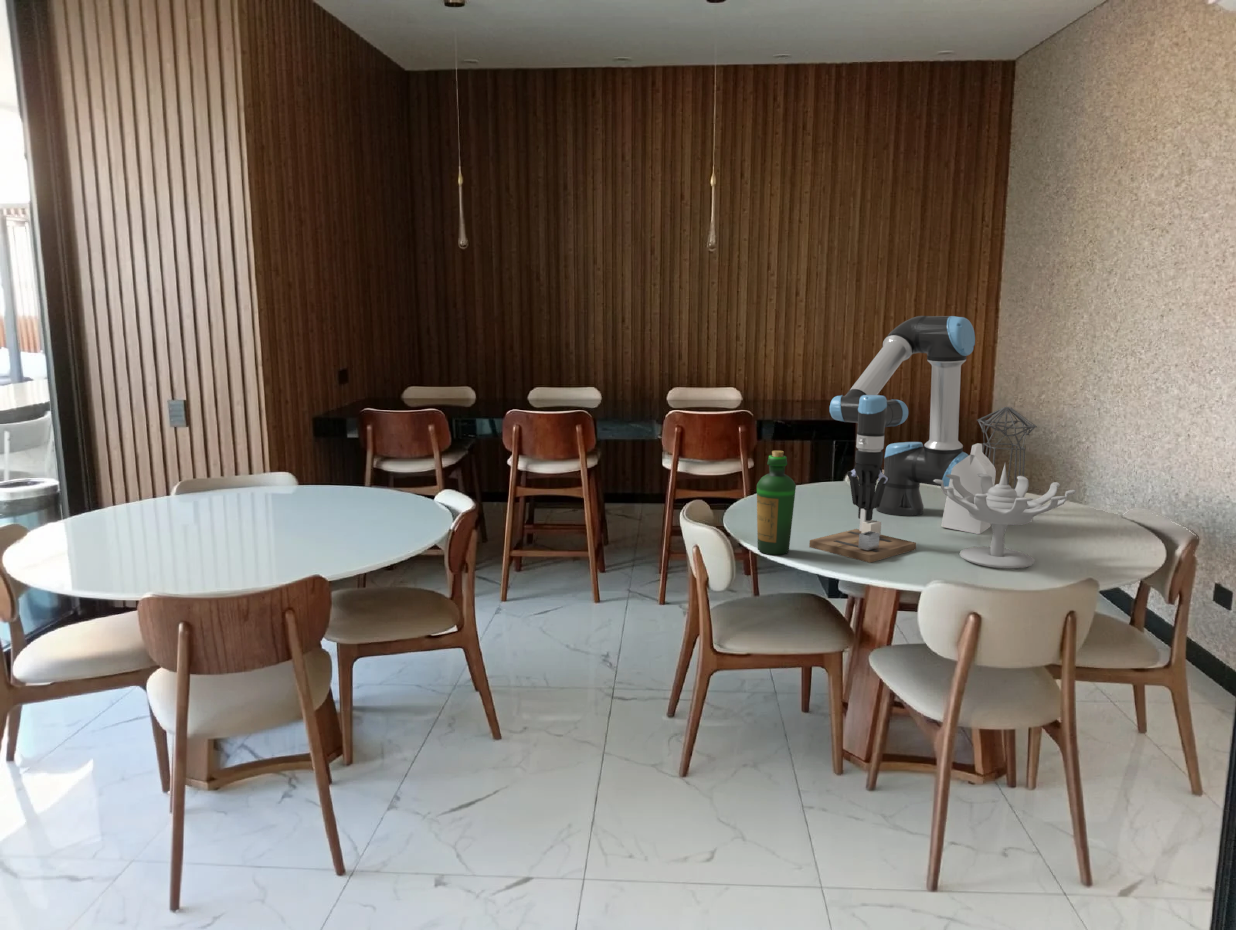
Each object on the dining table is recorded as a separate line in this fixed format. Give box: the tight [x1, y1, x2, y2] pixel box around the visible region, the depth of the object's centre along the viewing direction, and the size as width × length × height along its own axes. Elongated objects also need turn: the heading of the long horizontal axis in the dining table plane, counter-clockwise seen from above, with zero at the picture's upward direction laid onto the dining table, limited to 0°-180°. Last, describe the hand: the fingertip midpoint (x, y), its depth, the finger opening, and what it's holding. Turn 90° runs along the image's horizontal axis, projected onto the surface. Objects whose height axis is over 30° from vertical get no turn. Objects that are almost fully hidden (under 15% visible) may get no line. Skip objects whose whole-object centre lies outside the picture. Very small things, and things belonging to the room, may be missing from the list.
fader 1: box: [861, 519, 882, 536], centre depth 261 cm, size 3×5×4 cm, turn 130°
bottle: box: [756, 450, 797, 556], centre depth 249 cm, size 11×11×28 cm
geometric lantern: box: [976, 406, 1038, 490], centre depth 307 cm, size 16×16×35 cm
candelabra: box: [933, 463, 1077, 570], centre depth 243 cm, size 34×35×27 cm
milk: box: [941, 442, 997, 535], centre depth 280 cm, size 12×12×26 cm
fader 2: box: [859, 531, 880, 550], centre depth 248 cm, size 3×5×4 cm, turn 130°
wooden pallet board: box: [808, 528, 917, 563], centre depth 256 cm, size 20×22×2 cm
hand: (864, 530), depth 263 cm, fingers closed
